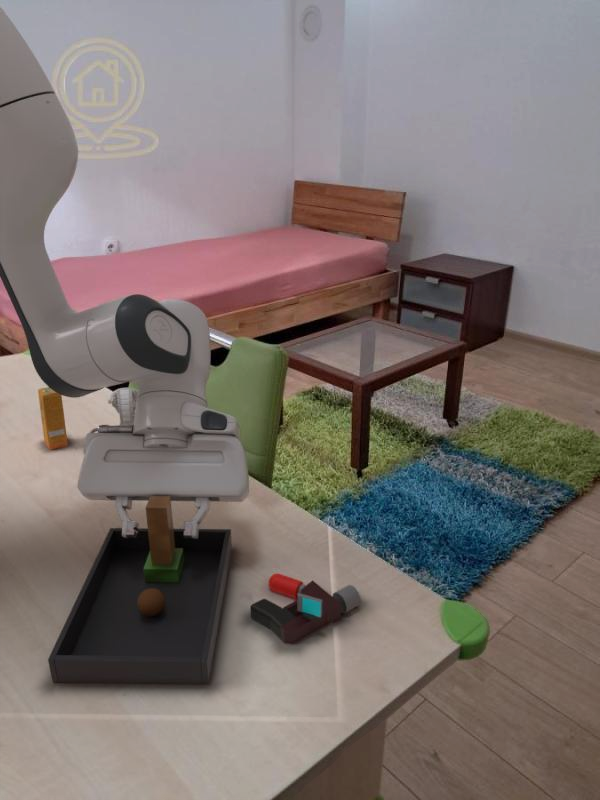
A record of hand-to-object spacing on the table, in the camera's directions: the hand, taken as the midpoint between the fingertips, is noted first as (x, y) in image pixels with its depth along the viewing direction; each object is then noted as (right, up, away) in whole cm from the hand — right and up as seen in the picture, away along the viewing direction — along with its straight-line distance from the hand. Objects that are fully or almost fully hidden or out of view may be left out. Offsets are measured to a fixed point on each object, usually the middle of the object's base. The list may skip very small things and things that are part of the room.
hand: (160, 538), depth 74 cm
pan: (0, -8, -2) cm, 8 cm away
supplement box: (-25, +8, +33) cm, 42 cm away
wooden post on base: (0, -5, +3) cm, 5 cm away
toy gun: (+17, -8, -2) cm, 18 cm away
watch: (-12, +7, +31) cm, 34 cm away
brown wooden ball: (0, -6, -4) cm, 8 cm away
